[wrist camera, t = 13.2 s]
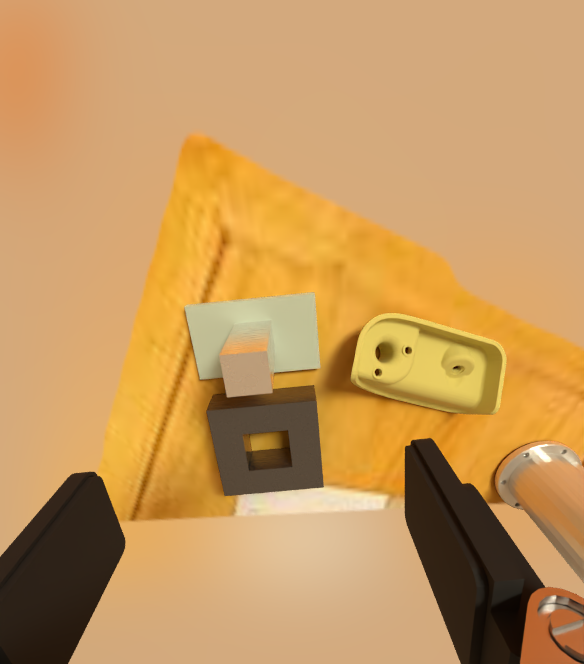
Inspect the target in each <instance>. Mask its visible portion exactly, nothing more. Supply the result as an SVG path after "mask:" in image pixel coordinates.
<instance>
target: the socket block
mask: <svg viewBox="0 0 584 664" xmlns="http://www.w3.org/2000/svg"><path fill="white" fill-rule="evenodd" d="M207 416H208V420H209V425H210V430H211V434H212V439H213V444H214V448H215V453H216V457H217V462H218V467H219V471H220V476H221V481H222V485H223V490H224V495H225V496H231V495H243V494H254V493H265V492H276V491H287V490H299V489H310V488H321V487H324V486H323V474H322V462H321V450H320V438H319V426H318V414H317V402H316V395H315V389H314V385H312V386H301V387H291V388H280V389H273V393H267V394H257V395H247V396H236V397H227V395H226V394H217V395H213V397H212V399H211V401H210V404H209V406H208V409H207ZM285 430H288V434H289V442H290V448H281V449H270V450H259V451H252V449H251V443H250V437H249V434H253V433H264V432H274V431H285Z"/></svg>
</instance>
